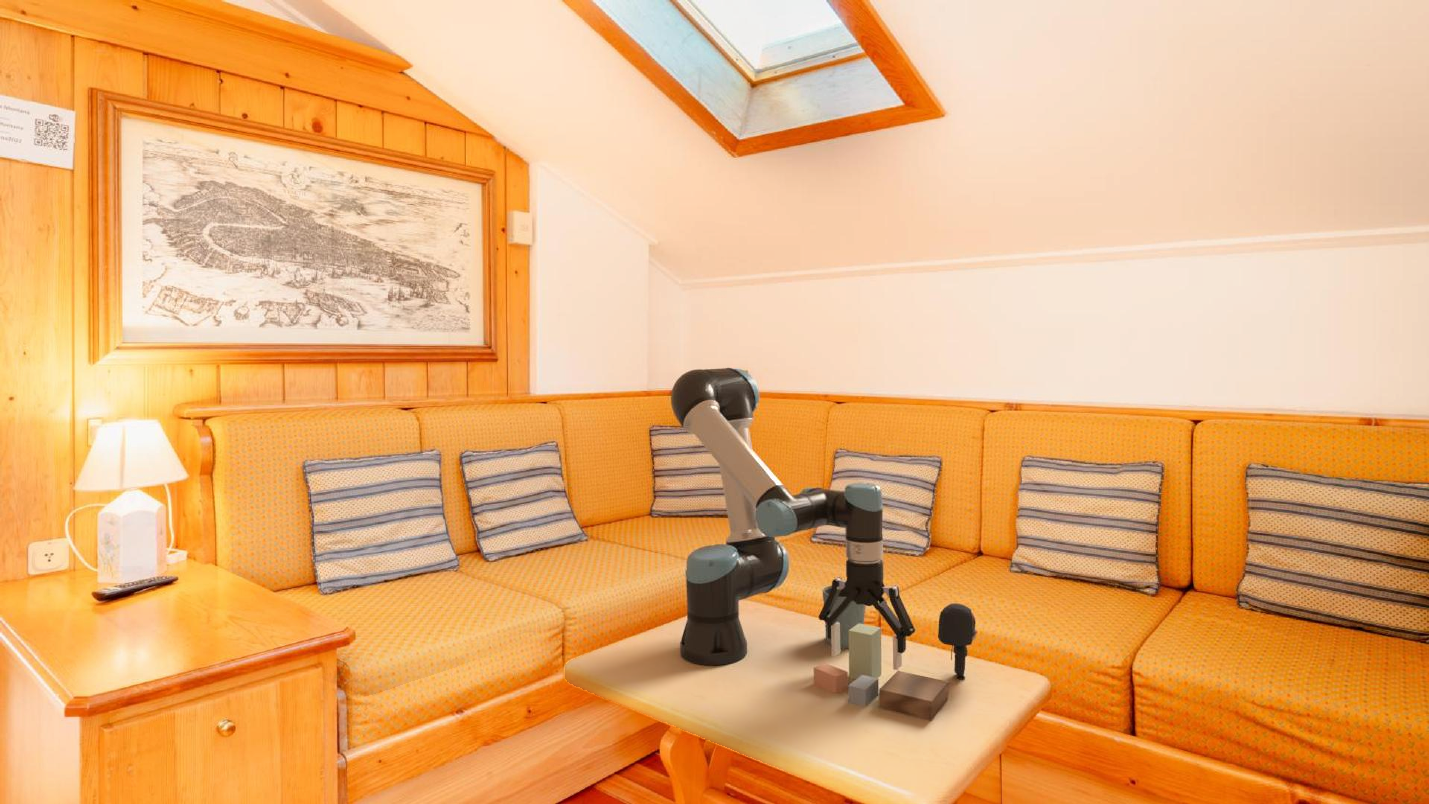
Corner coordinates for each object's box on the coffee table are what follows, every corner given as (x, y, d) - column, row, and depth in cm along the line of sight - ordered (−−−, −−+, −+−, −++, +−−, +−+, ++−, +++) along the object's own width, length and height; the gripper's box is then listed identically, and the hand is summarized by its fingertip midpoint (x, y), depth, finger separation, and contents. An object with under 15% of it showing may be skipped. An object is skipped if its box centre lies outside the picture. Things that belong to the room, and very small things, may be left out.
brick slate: (865, 707, 148) (865, 689, 147) (848, 703, 150) (848, 685, 149) (878, 696, 152) (878, 678, 152) (862, 692, 154) (861, 674, 154)
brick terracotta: (813, 684, 158) (813, 667, 158) (825, 679, 161) (825, 663, 160) (835, 694, 154) (835, 676, 154) (847, 689, 156) (847, 671, 156)
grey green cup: (816, 644, 180) (815, 593, 179) (833, 630, 188) (832, 581, 188) (857, 652, 175) (857, 599, 174) (873, 638, 183) (873, 587, 182)
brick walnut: (879, 709, 147) (879, 689, 147) (898, 690, 155) (897, 670, 155) (931, 722, 142) (931, 701, 141) (948, 701, 150) (948, 681, 150)
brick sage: (849, 677, 161) (848, 630, 160) (859, 669, 165) (858, 623, 164) (871, 683, 158) (871, 635, 157) (881, 674, 162) (881, 627, 162)
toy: (980, 686, 155) (980, 612, 155) (939, 684, 157) (939, 610, 156) (974, 668, 164) (974, 598, 163) (936, 666, 166) (936, 597, 165)
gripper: (801, 556, 164) (803, 655, 165) (917, 571, 150) (918, 679, 151) (818, 548, 170) (819, 644, 171) (930, 562, 156) (931, 666, 157)
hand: (866, 661), depth 161 cm, fingers open, 13 cm apart
